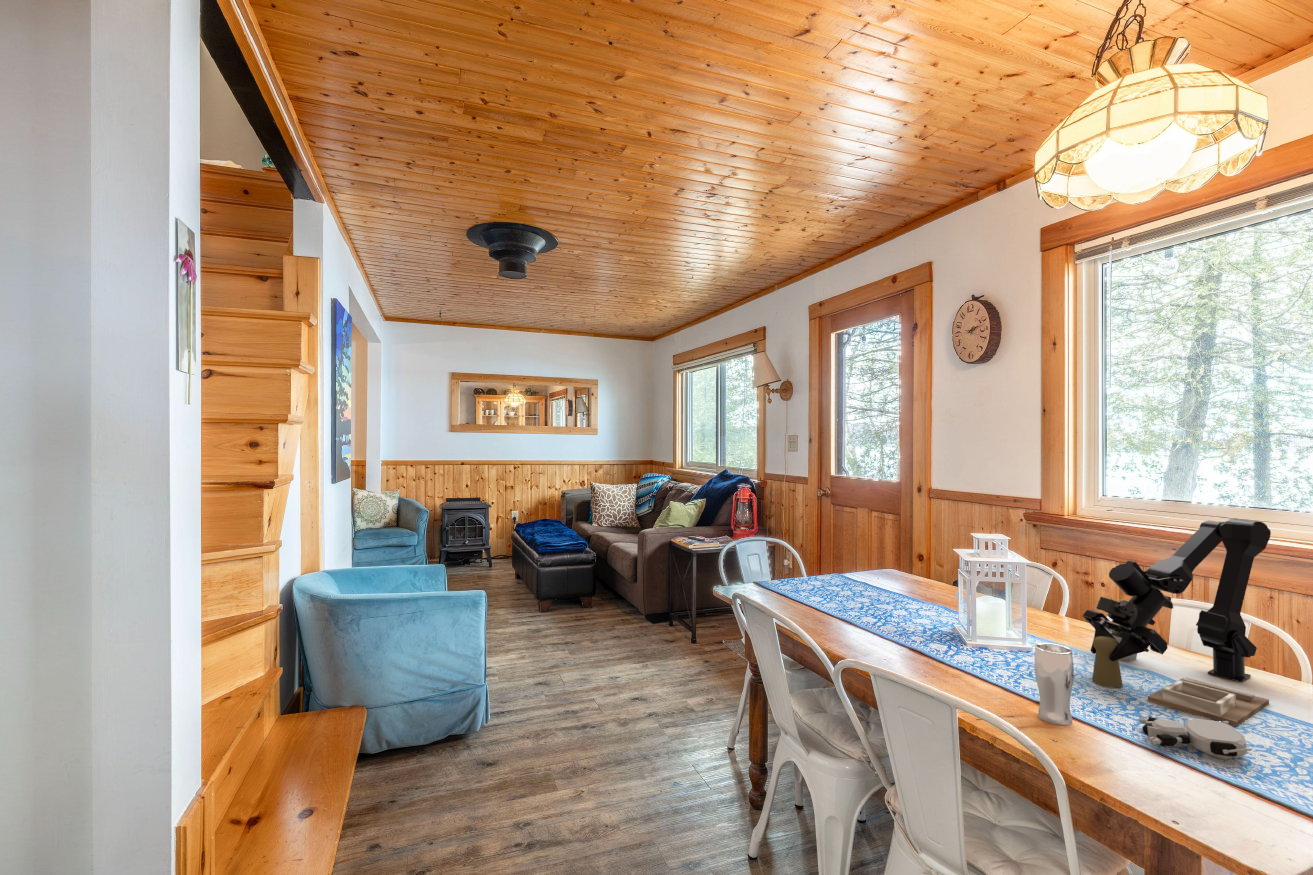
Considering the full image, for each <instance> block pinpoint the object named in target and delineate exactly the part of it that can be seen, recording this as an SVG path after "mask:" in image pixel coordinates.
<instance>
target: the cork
mask: <svg viewBox="0 0 1313 875" xmlns="http://www.w3.org/2000/svg"><path fill="white" fill-rule="evenodd" d="M1093 639H1094V638H1093ZM1092 643H1093V645H1094V648H1095V649H1096V653H1095V654H1094V655H1095V657H1094V663H1093V671H1092V678H1091V681H1092V683H1094V684H1095V685H1097V686H1101V687H1105V688H1110V689H1121V688H1123V687H1124V685H1123V678H1122V674H1121V667H1120V663H1119V660H1116V661H1111V660H1110V659H1109V657H1110V655H1111V653H1112V652H1113V651H1114V649H1115V648H1116V647H1117V645H1118V644H1119V642H1118V641H1117V640H1115V639H1113V638H1110V637H1104V636H1098V637H1095V639H1094V641H1093V640H1092Z"/></svg>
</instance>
